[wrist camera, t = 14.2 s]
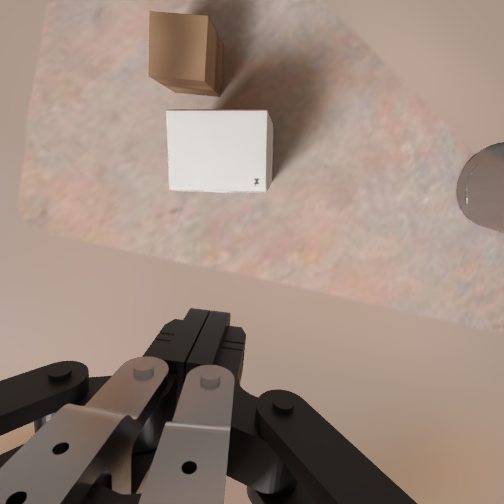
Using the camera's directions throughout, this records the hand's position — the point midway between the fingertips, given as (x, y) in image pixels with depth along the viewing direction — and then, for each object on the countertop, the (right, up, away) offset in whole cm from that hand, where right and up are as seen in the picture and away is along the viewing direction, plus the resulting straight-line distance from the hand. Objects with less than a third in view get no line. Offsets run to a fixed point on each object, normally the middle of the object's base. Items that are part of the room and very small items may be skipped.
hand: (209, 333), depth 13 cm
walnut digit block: (-4, +23, +25) cm, 34 cm away
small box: (0, +14, +27) cm, 30 cm away
